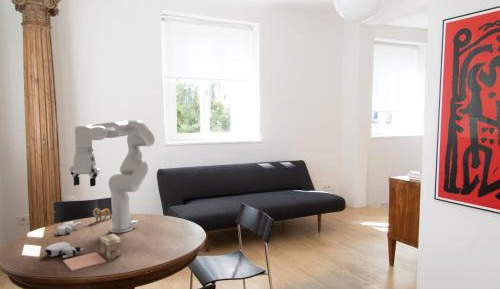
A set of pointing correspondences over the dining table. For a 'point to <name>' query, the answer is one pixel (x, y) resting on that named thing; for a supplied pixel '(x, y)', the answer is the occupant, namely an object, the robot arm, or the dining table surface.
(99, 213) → the lion figurine
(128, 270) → the dining table surface
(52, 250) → the robot toy
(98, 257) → the terracotta mat
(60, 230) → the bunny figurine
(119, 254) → the birch stool
